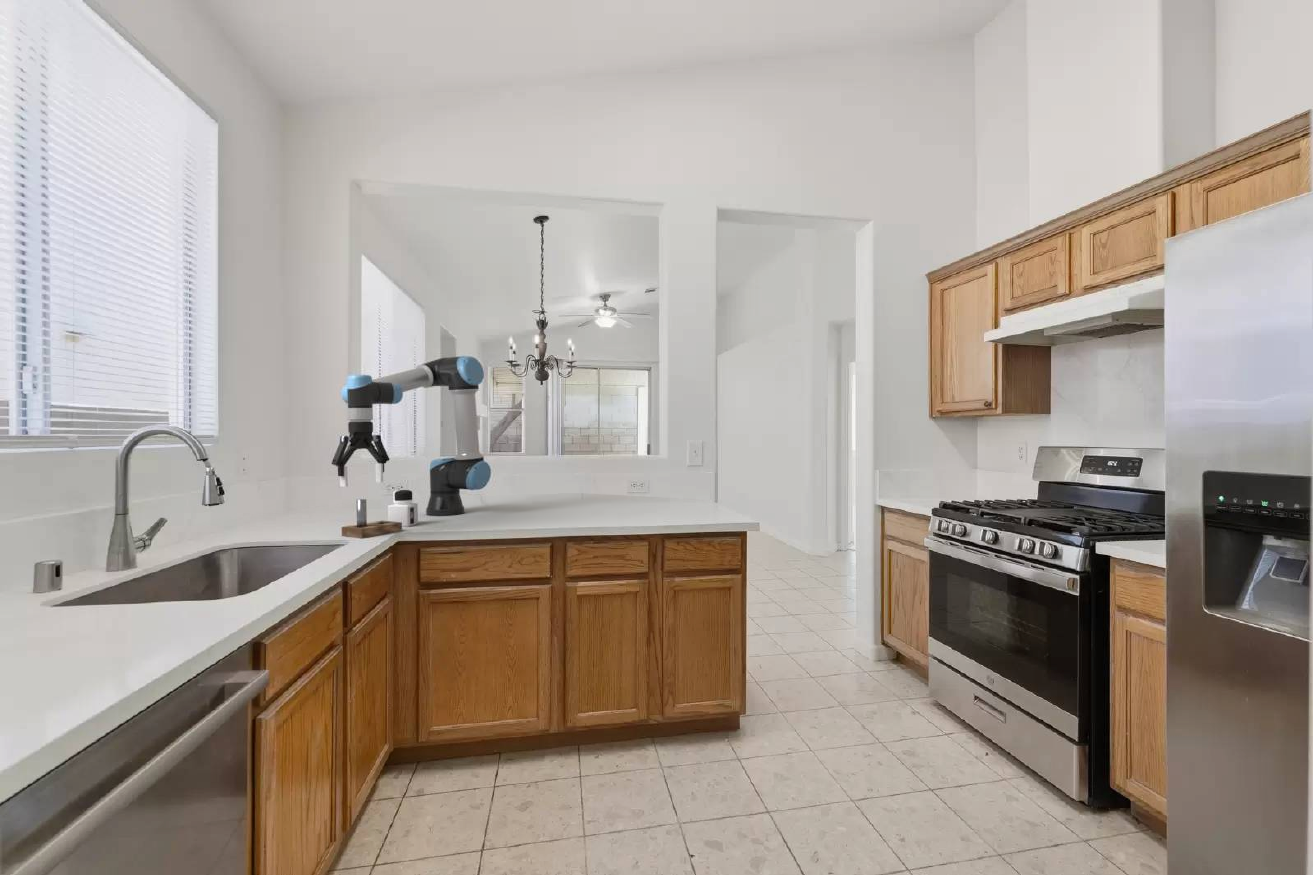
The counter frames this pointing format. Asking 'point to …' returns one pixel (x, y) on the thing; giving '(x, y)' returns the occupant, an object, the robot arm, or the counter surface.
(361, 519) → the pin
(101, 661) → the counter surface
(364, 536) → the hole block
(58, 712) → the counter surface
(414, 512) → the container
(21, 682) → the counter surface
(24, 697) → the counter surface
